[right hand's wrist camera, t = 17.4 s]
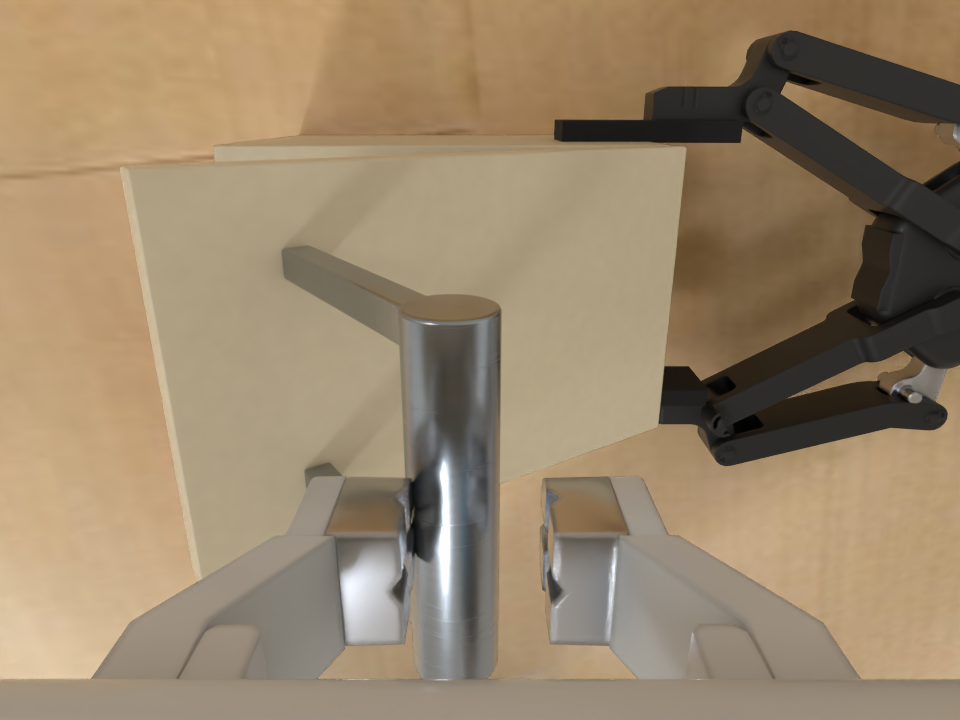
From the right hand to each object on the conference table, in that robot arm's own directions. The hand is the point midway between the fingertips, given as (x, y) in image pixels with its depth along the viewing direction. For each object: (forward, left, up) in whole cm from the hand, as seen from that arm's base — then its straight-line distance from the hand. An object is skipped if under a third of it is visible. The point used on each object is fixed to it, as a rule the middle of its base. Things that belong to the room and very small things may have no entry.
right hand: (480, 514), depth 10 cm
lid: (0, -1, -9) cm, 9 cm away
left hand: (+2, +2, -18) cm, 18 cm away
